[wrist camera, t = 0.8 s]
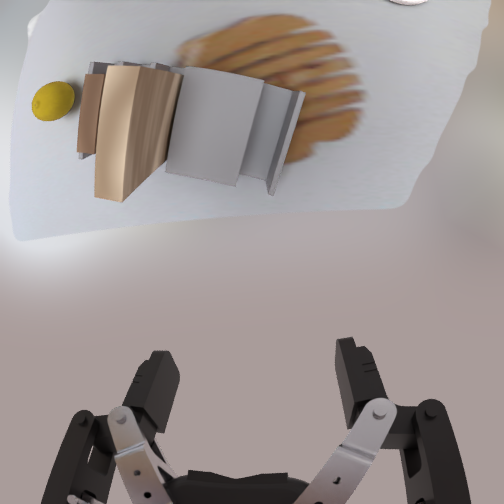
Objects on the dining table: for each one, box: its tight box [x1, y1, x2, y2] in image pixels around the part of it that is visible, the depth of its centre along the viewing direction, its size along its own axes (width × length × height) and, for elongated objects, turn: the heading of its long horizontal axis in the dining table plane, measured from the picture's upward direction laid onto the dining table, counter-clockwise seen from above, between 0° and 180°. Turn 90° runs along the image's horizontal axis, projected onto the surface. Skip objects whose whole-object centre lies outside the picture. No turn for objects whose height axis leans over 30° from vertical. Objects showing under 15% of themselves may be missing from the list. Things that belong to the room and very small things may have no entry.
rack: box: [79, 62, 306, 196], centre depth 28 cm, size 24×12×6 cm, turn 75°
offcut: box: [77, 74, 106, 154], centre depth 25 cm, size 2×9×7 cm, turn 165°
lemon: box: [32, 81, 75, 121], centre depth 24 cm, size 6×6×8 cm
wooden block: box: [95, 66, 184, 202], centre depth 22 cm, size 2×10×16 cm, turn 166°
